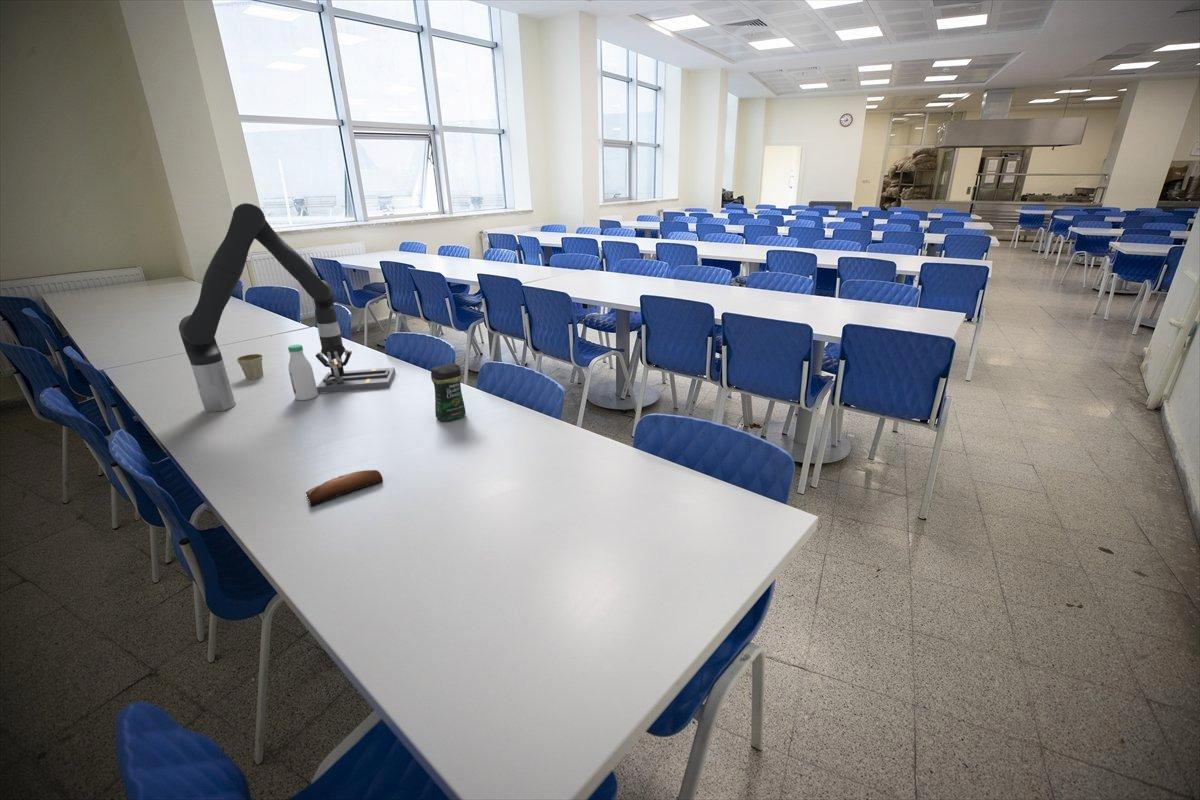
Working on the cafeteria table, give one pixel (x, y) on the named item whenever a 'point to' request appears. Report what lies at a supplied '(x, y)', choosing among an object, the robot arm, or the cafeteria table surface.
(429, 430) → the cafeteria table surface
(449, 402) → the coffee jar
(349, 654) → the cafeteria table surface
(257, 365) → the flower pot
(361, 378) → the console
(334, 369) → the fader tab
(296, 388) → the milk bottle
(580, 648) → the cafeteria table surface
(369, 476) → the sunglasses case
